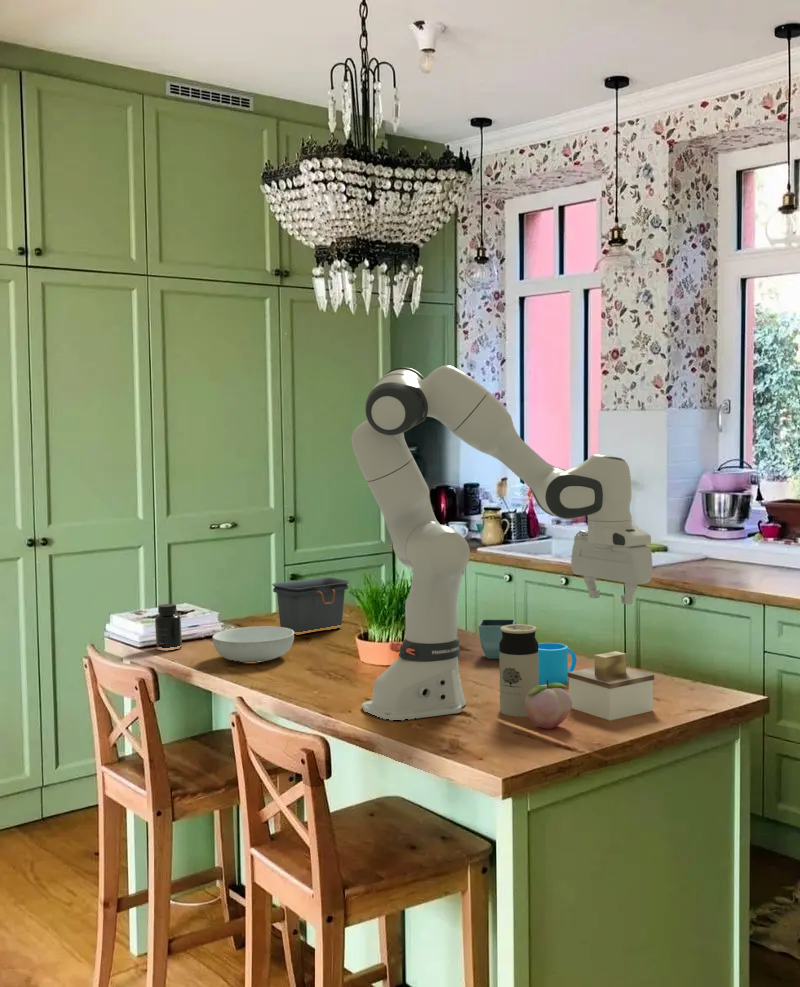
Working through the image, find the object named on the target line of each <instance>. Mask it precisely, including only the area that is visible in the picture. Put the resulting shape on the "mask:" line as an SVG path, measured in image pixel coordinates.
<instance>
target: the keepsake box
mask: <svg viewBox="0 0 800 987" xmlns="http://www.w3.org/2000/svg"><path fill="white" fill-rule="evenodd" d="M653 685H654V680H651V681H646V682H641V683H636V684H631V685H627V686H622V687H617V688H612V689H608V688H605V687H601V686H598V685H594V684H591V683H587V682H583V681H580V680H576V679H573V678H569V677H568V688H569V689H568V694H569V696H570V698H571V701H572V707H571V710H576V711H579V712H582V713H585V714H588V715H591V716H594V717H598V718H600V719H603V720H607V721H614V720H619V719H623V718H628V717H631V716H635V715H640V714H645V713H648V712H653V711H654V698H653V697H654V686H653Z"/></svg>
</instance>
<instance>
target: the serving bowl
mask: <svg viewBox="0 0 800 987" xmlns="http://www.w3.org/2000/svg"><path fill="white" fill-rule="evenodd" d="M294 634H295V632H294V631H293V630H292V629H289V628H284V627H280V626H272V625H271V626H270V625H268V626H267V625H266V626H264V625H263V626H262V625H261V626H260V625H259V626H246V627H245V626H244V627H237V628H231V629H230V628H229V629H227V630H221V631H218V632H216V633H214V634H212V642H213V646H214V648H215V650H216V652H217V653H218V654H219V655H220V656H221V657H222V658H225V659H227V660H229V661H232V660H233V661H232V662H237V661H240V662H257V661H266V660H270V661H272V660H275V659H277V658H279V657H282V656H283V655H285V654H286V653H288V651H289V650H290V649H291V648H292V646H293V643H294V640H295V635H294ZM240 662H239V663H240Z"/></svg>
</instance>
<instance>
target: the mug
mask: <svg viewBox="0 0 800 987" xmlns="http://www.w3.org/2000/svg"><path fill="white" fill-rule="evenodd" d="M568 653H569V654H570V656H571V663H570V666H569V664H568V662H569V660H568V658H569V657H568V655H569V654H568ZM577 662H578V660H577V655H576V653H575V652H574V651H573V649H572V648H569V647H568V645H567V644H566V645H565V644H564V643H557V642H556V643H555V642H540V643H539V642H538V663H539V685H547V680H548V684H551V683H561V684H566V683H567V684H569V677H568V675H567V672H571V671H575V668H576V665H577Z"/></svg>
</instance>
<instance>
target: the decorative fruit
mask: <svg viewBox="0 0 800 987" xmlns="http://www.w3.org/2000/svg"><path fill="white" fill-rule="evenodd" d="M564 688H566V689H568V690H569V686H567V685H565V683H563V684H561V683H551V684H548V680H547V685H539V686H536V687H534V688H533V689H531V690H530V691H529V692H528V694H527V696H526V698H525V709H526V712H527V714H528V716H527V717H528V718H529V719H530V721H531V722H532V723H533V724H534V725H536V726H537V727H539V728H541V729H545V730H551V729H554V728H556V727H558V726H559V725H561V724H562V723H563V722H564V721H565V719H567V718H568V716H569V715H570V712H571V710H572V708H571V707H572V701H571V698H570V696H569V692H567V690H566V689H564Z"/></svg>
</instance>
